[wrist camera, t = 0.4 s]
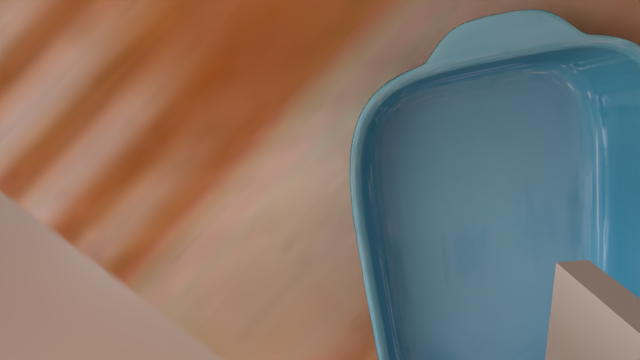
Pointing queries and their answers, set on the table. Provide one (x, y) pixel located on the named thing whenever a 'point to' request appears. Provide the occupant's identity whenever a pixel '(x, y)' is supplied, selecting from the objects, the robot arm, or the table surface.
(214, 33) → the table surface
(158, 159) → the table surface
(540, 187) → the casserole dish
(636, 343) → the robot arm
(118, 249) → the table surface
